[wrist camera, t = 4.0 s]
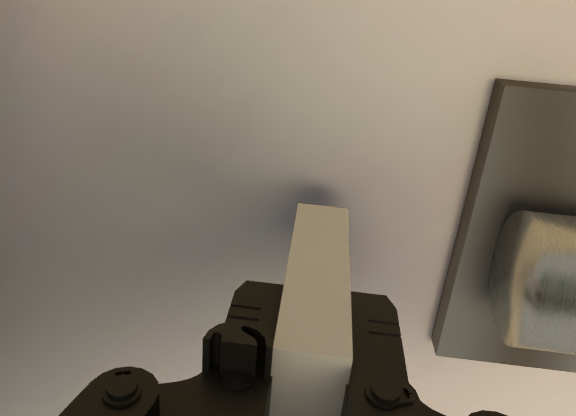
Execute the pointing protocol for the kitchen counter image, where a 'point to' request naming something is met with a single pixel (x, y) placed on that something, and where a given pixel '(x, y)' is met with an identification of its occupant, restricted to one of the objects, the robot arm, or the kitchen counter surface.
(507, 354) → the board
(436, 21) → the kitchen counter surface
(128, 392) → the robot arm
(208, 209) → the kitchen counter surface
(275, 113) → the kitchen counter surface
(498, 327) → the tube
